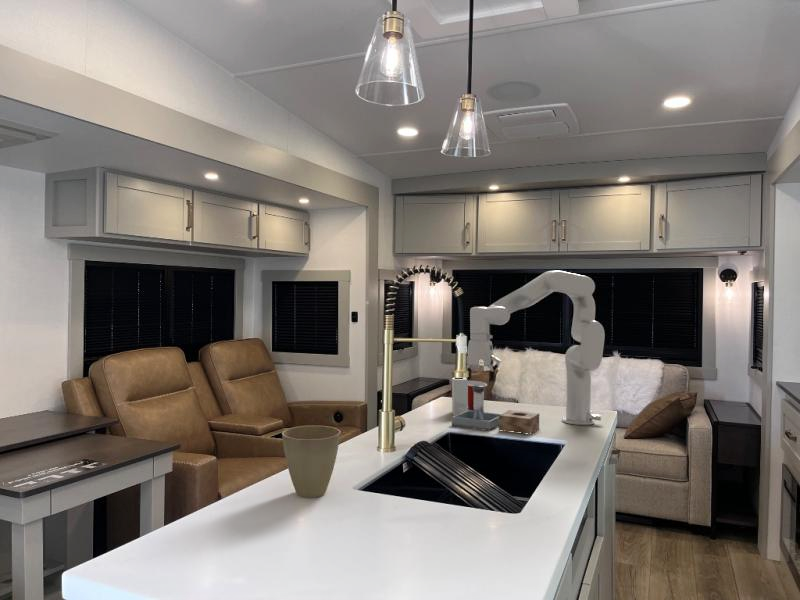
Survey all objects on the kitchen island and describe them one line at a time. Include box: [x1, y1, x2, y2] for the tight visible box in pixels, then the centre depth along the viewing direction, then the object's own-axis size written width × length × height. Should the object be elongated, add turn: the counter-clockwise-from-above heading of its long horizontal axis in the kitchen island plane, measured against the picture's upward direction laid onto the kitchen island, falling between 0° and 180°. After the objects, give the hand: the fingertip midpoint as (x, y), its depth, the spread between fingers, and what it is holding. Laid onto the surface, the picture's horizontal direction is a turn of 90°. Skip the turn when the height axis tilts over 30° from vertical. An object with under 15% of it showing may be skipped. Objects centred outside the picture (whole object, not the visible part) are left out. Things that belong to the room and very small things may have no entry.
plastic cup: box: [468, 380, 488, 410], centre depth 268 cm, size 11×11×12 cm
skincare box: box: [451, 377, 469, 416], centre depth 256 cm, size 8×7×16 cm
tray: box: [451, 409, 502, 431], centre depth 235 cm, size 16×16×4 cm
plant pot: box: [281, 425, 341, 499], centre depth 151 cm, size 15×15×16 cm
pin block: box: [498, 409, 540, 435], centre depth 227 cm, size 12×12×6 cm
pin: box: [473, 385, 486, 420], centre depth 235 cm, size 5×5×15 cm
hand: (480, 380), depth 235 cm, fingers open, 9 cm apart
